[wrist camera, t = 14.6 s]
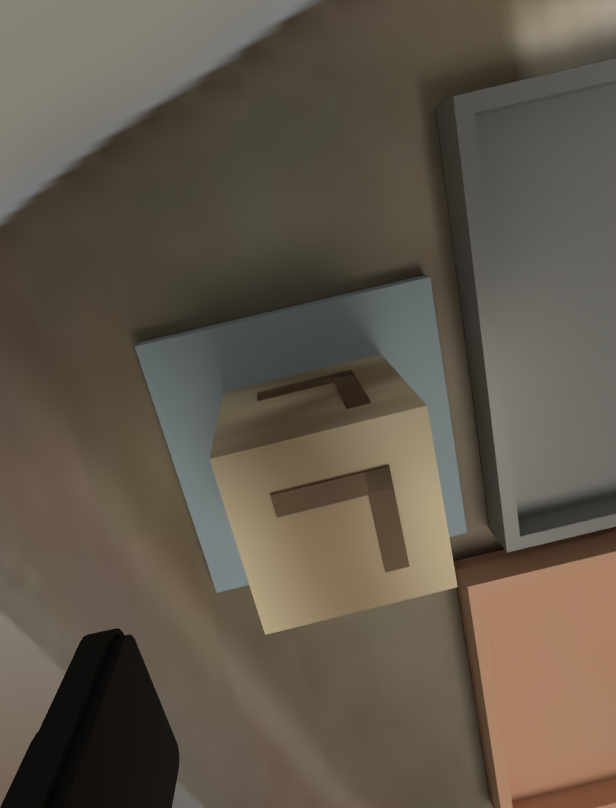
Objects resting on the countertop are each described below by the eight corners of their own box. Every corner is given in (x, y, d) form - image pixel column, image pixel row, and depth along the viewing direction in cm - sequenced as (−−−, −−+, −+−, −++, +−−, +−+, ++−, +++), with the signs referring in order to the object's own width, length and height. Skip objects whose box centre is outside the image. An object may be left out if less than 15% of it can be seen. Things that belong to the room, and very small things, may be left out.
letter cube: (380, 351, 17) (427, 403, 12) (407, 493, 19) (458, 589, 14) (222, 390, 17) (207, 457, 12) (263, 529, 19) (265, 637, 14)
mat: (424, 275, 17) (430, 277, 16) (461, 523, 20) (466, 532, 19) (138, 342, 17) (134, 346, 16) (217, 582, 20) (216, 592, 19)
